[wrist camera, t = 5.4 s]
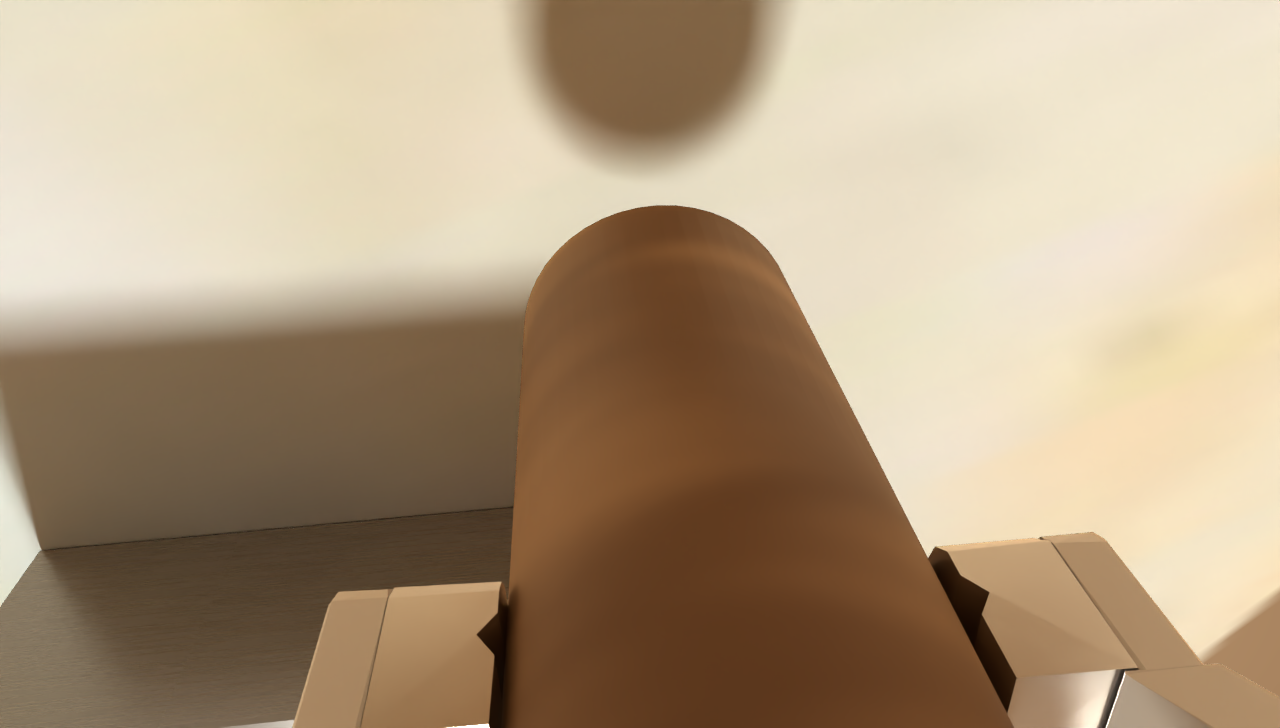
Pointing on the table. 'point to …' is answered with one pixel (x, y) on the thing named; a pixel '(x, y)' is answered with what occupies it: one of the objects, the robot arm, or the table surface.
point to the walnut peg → (709, 508)
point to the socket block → (212, 617)
